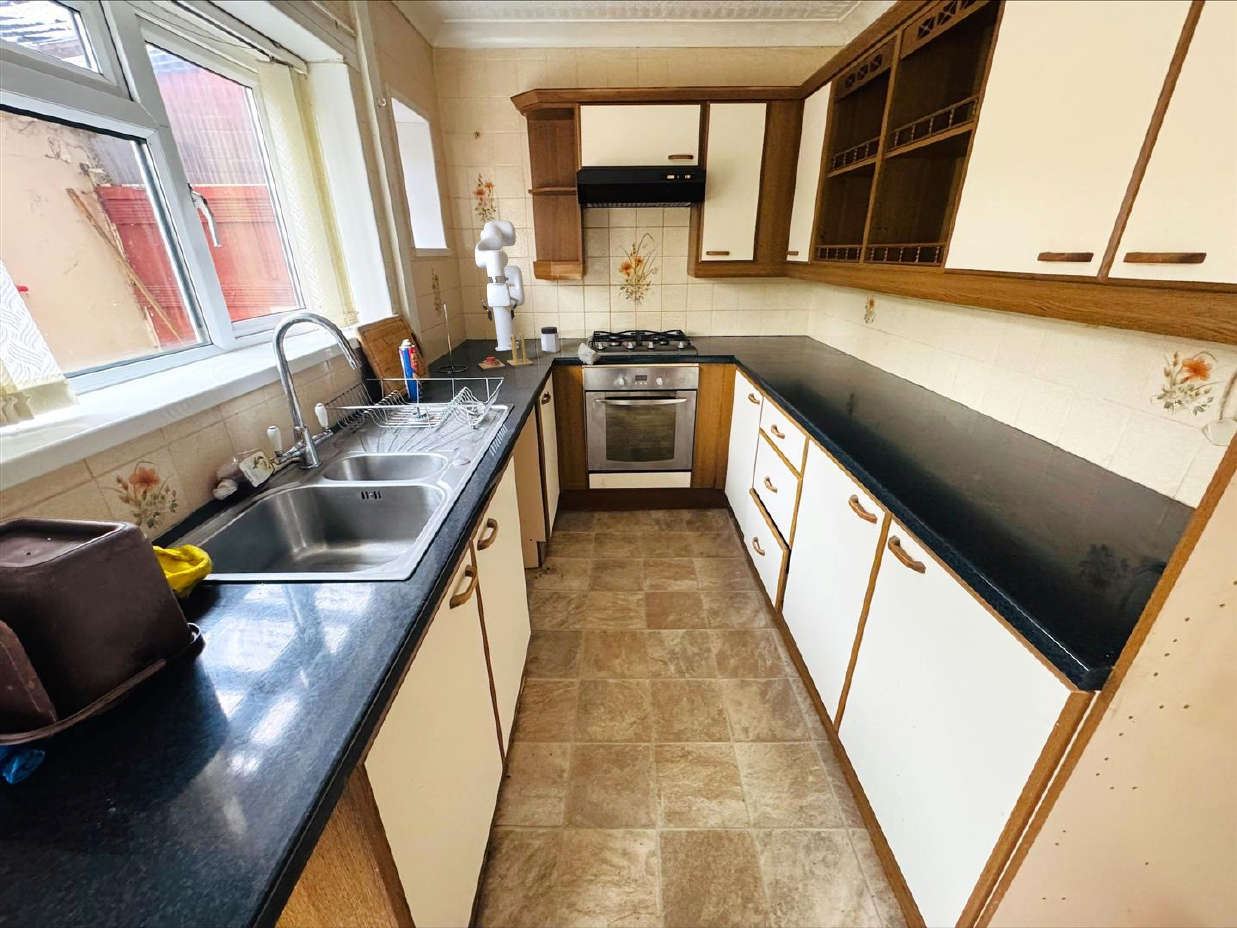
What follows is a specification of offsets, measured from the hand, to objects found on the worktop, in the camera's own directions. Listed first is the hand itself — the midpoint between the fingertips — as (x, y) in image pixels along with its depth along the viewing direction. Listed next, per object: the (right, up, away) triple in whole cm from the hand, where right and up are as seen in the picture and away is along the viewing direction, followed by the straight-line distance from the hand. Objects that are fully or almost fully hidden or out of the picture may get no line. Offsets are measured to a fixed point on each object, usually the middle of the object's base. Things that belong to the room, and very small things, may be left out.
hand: (501, 320), depth 233 cm
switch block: (-5, -22, 0) cm, 22 cm away
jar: (+19, -8, +30) cm, 36 cm away
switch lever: (+6, -10, +4) cm, 12 cm away
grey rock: (+42, -21, -1) cm, 47 cm away
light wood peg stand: (+8, -20, +4) cm, 21 cm away
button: (-5, -19, -1) cm, 20 cm away
